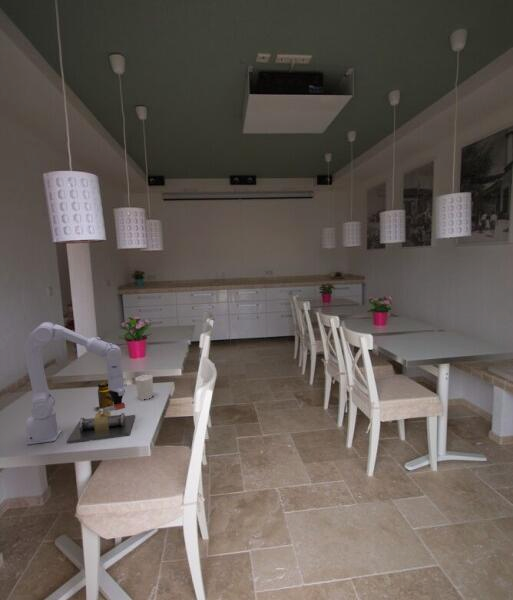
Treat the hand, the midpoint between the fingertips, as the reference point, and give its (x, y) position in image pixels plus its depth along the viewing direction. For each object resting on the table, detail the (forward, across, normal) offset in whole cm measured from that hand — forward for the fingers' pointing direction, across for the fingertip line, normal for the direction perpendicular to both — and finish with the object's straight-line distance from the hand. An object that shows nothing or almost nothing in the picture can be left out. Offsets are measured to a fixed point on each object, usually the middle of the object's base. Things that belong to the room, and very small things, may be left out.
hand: (118, 407), depth 142 cm
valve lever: (0, -1, +3) cm, 3 cm away
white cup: (+7, +20, -18) cm, 27 cm away
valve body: (+7, -1, +6) cm, 9 cm away
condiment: (+7, +20, +1) cm, 21 cm away
